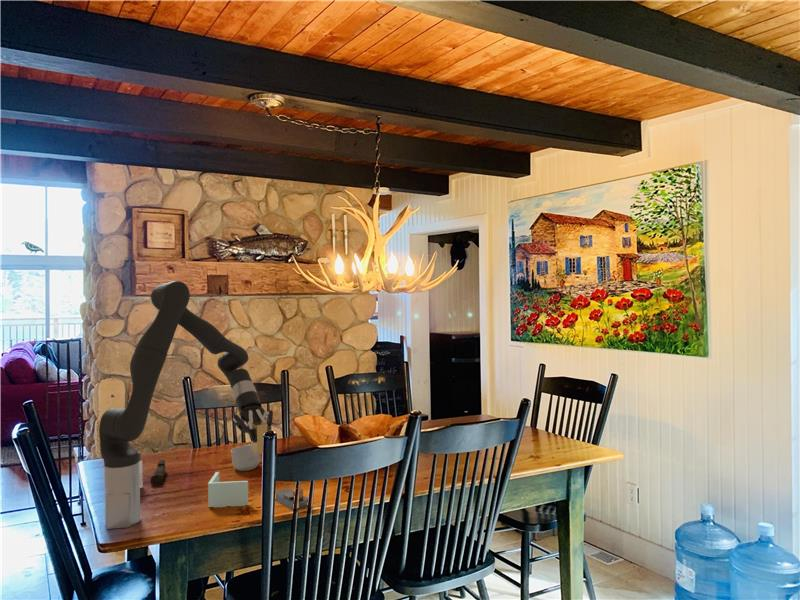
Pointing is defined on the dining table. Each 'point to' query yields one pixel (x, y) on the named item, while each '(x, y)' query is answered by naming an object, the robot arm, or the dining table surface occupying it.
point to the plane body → (290, 498)
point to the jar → (140, 470)
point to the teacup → (244, 458)
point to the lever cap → (258, 437)
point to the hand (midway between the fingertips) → (261, 440)
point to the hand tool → (158, 474)
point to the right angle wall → (227, 493)
